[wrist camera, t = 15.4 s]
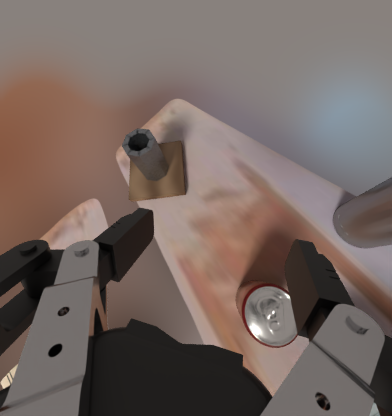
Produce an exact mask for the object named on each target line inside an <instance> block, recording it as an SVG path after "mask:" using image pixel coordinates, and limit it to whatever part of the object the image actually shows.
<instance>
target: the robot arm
mask: <svg viewBox="0 0 392 416" xmlns="http://www.w3.org/2000/svg"><path fill="white" fill-rule="evenodd" d="M333 223H334V227H335V229H336V231H337V233H338V234H339V236H340V237H341V238H342V239H343V240H344V241H346V242H347V243H349V244H351V245H353V246H356V247H359V248H373V247H379V246H385V245H392V178H390V179H388V180H386V181H384V182H382V183H381V184H379V185H377V186H375V187H374V188H372V189H370V190H368V191H366V192H365V193H363V194H361V195H359V196H357V197H355V198H354V199H352V200H350V201H348V202H347V203H345V204H343V205H341V206H340V207H339V208H338V209H337V210H336V212H335V213H334V217H333ZM153 235H154V219H153V211H152V210H149V209H144V208H138V209H137V210H136V211H135V212H134V213H132V214H129V215H126V216H124V217H122V218H120V219H119V220H118V221H117V222H116V223H114V224H113V225H112V226H111V227H109V228H108V229H107V230H105V231H104V232H103V233H102V234H100V235H99V236H98V237H97V238H95V239H94V240H93V241H90V240H86V241H80V242H77V243H74V244H72V245H70V246H69V247H67V248H66V249H65V250H50V248H49V245H48V243H47V242H46V241H44V240H32V241H28V242H24V243H22V244H19V245H18V246H16V247H14V248H12V249H11V250H9V251H7V252H6V253H4V254H2V255H1V256H0V297H1V296H2V295H3V294H5V293H6V292H7V291H9V290H10V289H11V288H12V287H14V286H15V285H16V284H18V283H19V282H20V281H21V283H22V285H23V287H24V290H22V291H21V292H20V293H19V294H18V295H16V296H15V297H14V298H13V299H11V300H10V301H9V302H8V303H7V304H5V305H4V306H3V307H2V308H0V356H1V354H2V353H4V352H5V350H6V349H7V348H8V347H9V346H10V345H11V344H12V343H13V342H14V341H15V340H16V339H17V338H18V337H19V336H20V335H21V334H22V333H23V332H24V331H25V330H26V329H27V328H28V327H29V326H30V325H31V324H32V325H31V328H30V331H29V334H28V337H27V340H26V343H25V345H24V348H23V351H22V354H21V357H20V360H19V363H18V366H17V369H16V372H15V375H14V378H13V381H12V384H11V385H9V386H8V387H6V388H4V389H3V390H1V391H0V416H370V412H371V409H372V406H373V402H374V403H375V404H376V406H377V408H378V411H379V414H380V416H392V338H390V337H388V336H386V335H384V333H383V331H382V329H381V328H380V326H379V325H378V324H377V323H376V322H375V321H374V320H373V319H372V318H371V317H370V316H369V315H368V314H366V313H365V312H363V311H362V310H360V309H358V308H356V307H355V306H354V304H353V302H352V300H351V298H350V296H349V295H348V293H347V291H346V289H345V287H344V285H343V283H342V282H341V280H340V278H339V276H338V274H337V273H336V270H335V269H334V267H333V265H332V263H331V262H330V261H329V260H328V259H327V258H326V257H325V256H324V255H323V254H318V252H317V250H316V248H315V246H314V244H313V243H312V242H308V241H303V240H298V239H296V240H295V241H294V242H293V245H292V247H291V250H290V252H289V255H288V258H287V260H286V263H285V277H286V281H287V286H288V291H289V295H290V300H291V305H292V310H293V314H294V319H295V324H296V329H297V333H298V335H299V336H303V337H306V338H308V339H309V342H310V343H309V345H308V346H307V348H306V349H305V351H304V352H303V354H302V355H301V357H300V358H299V359H298V361H297V362H296V364H295V365H294V367H293V368H292V370H291V371H290V373H289V374H288V376H287V377H286V379H285V380H284V381H283V383H282V384H281V386H280V387H279V389H278V390H277V392H276V393H275V395H274V396H273V397H272V395H271V394H270V392H269V391H268V390H267V388H266V387H265V386H264V385H263V384H262V382H261V381H260V380H259V379H258V378H257V377H256V376H255V375H254V374H253V373H251V372H250V371H249V370H248V369H247V368H245V367H244V366H243V355H242V354H239V353H236V352H232V351H229V350H226V349H223V348H220V347H217V346H214V345H196V344H182V343H179V342H178V341H176V340H175V339H173V338H172V337H170V336H169V335H168V334H166V333H165V332H163V331H162V330H161V329H159V328H158V327H156V326H153V325H150V324H147V323H143V322H141V321H138V320H135V319H131V320H130V322H129V324H128V325H127V327H120V328H114V329H109V330H108V314H107V311H108V309H107V308H108V306H107V305H108V303H107V301H108V300H107V299H108V295H107V294H108V288H107V283H108V282H109V281H110V280H113V281H116V282H120V280H121V279H122V278H123V276H124V275H125V274H126V273H127V271H128V270H129V269H130V268H131V266H132V265H133V263H134V262H135V261H136V260H137V259H138V257H139V256H140V255H141V254H142V252H143V251H144V250H145V249H146V247H147V246H148V245H149V244H150V242H151V241H152V239H153Z"/></svg>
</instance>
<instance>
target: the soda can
mask: <svg viewBox="0 0 392 416" xmlns="http://www.w3.org/2000/svg"><path fill="white" fill-rule="evenodd" d="M236 306H237V309H238V311H239V314H240V316H241V318H242V320H243V323H244V325H245V327H246V329H247V331H248V332H249V334H250V335H251V336H252V337H253V338H254V339H255V340H256V341H258V342H259V343H260V344H263V345H265V346H268V347H272V348H280V347H284V346H286V345H288V344H290V343H291V342H292V341H294V340H295V338H296V337H297V336H298V333H297V329H296V324H295V319H294V314H293V310H292V305H291V300H290V295H289V292H288V291H287V290H285V289H284V288H282V287H281V286H278V285H275V284H271V283H267V282H262V281H257V280H251V281H247V282H245V283H244V284H242V285H241V286H240V288H239V289H238V291H237V294H236Z"/></svg>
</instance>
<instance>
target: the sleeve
mask: <svg viewBox="0 0 392 416" xmlns="http://www.w3.org/2000/svg"><path fill="white" fill-rule="evenodd" d="M122 147H123V148H124V150H125V152H126V154H127V155H128V156H129V158H130V159H131V160H132V161H133V163H134V164H135V165H136V166H137V168H138V169H139V170H140V171H141V173H142V174H143V175H144V176H145V178H146V179H147V180H152V181H158V180H160V179H162V178H163V177H165V176H166V174H167V171H168V168H169V166H168V164H167V162H166V159H165V157H164V155H163V153H162V151H161V149H160V147H159V145H158V143H157V141H156V139H155V137H154V136H153V135H152V133H151V132H150V130H147V129H136V130H134V131H132V132H131V133H129V134H127V135H126V137H125V139H124V142H123V144H122Z"/></svg>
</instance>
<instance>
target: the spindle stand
mask: <svg viewBox="0 0 392 416" xmlns="http://www.w3.org/2000/svg"><path fill="white" fill-rule="evenodd" d="M158 145H159V147H160V149H161V151H162V153H163V155H164V157H165V159H166V162H167V164H168V166H169V168H168V171H167V174H166V176H165V177H163V178H162V179H160V180H158V181H152V180H147V179H146V178H145V176H144V175H143V174H142V173H141V171H140V170H139V169H138V168H137V166H136V165H135V164H134V163H133V161H132V160H131V159H130V181H129V200H130V201H132V202H133V201H141V200H148V199H156V198H164V197H172V196H179V195H186V192H185V178H184V164H183V150H182V143H181V141H175V142H169V143H162V144H158Z"/></svg>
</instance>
